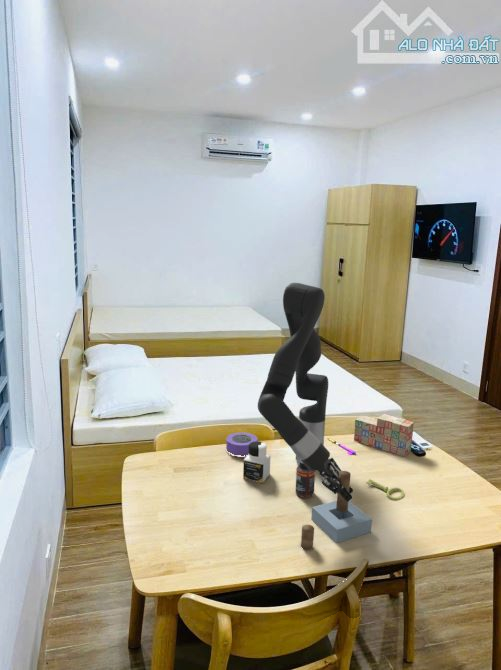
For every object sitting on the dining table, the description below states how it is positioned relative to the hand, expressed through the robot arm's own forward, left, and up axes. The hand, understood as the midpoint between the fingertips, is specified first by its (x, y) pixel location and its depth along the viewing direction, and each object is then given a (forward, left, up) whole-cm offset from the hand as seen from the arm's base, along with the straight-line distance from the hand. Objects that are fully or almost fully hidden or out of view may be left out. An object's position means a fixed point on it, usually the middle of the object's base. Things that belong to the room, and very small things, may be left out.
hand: (350, 495), depth 139 cm
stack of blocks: (-38, +46, -10) cm, 61 cm away
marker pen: (-44, +30, -10) cm, 55 cm away
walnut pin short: (+3, -16, -10) cm, 19 cm away
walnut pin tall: (-1, -2, -4) cm, 5 cm away
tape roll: (-56, -6, -10) cm, 58 cm away
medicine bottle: (-36, -10, -10) cm, 39 cm away
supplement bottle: (-20, -2, -10) cm, 23 cm away
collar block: (-1, -2, -10) cm, 10 cm away
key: (-11, +24, -11) cm, 28 cm away
